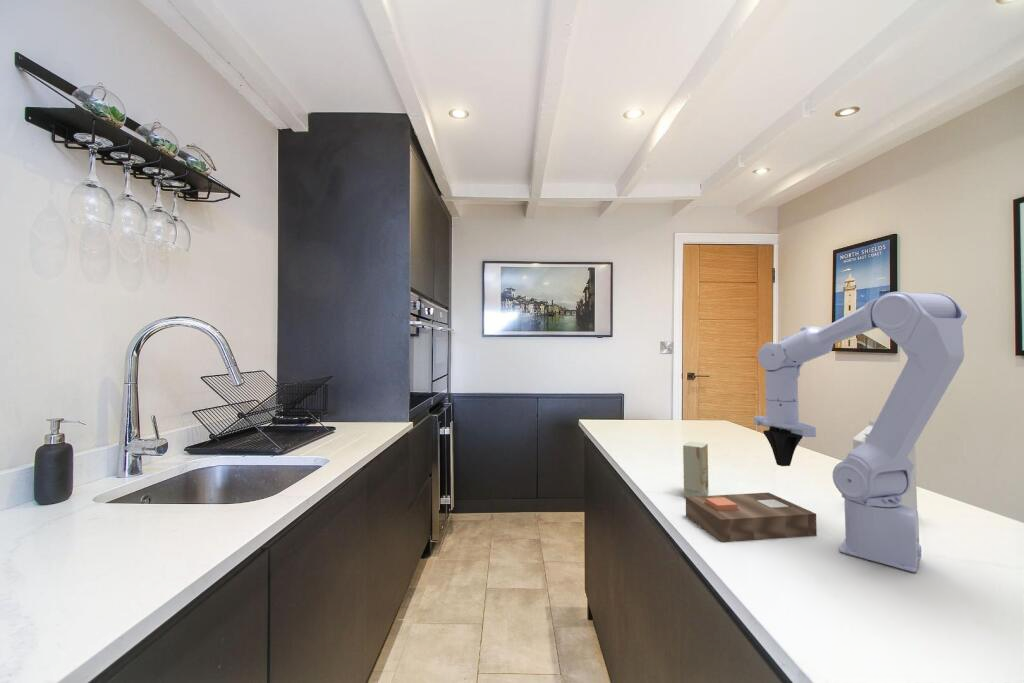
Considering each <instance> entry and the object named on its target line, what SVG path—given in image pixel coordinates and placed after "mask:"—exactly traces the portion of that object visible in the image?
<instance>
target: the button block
mask: <svg viewBox="0 0 1024 683" xmlns="http://www.w3.org/2000/svg"><path fill="white" fill-rule="evenodd" d="M720 497H725V498H726V499H728V500H730V501H732V502H734V503H736V504H737V510H733V511H716V510H714V509H713V508H711V507H709V506H708V505H706V498H720ZM771 499H774V500H777V501H779V502H781V503H783V504H785V505H787V506H789V507H784V508H769V507H767V506H765V505H763V504H761V503H759V502H757V501H756V500H771ZM685 517H686V518H688V519H689V520H691V522H693V523H695V524H696V525H697V526H699V527H700V528H702V529H703V530H705V532H707V533H708V534H710V535H711V536H713V537H714V538H715V539H717V540H718V541H720V542H721V543H728V542H729V543H730V542H742V541H757V540H758V541H759V540H772V539H785V538H786V539H787V538H788V539H789V538H800V537H801V538H803V537H814V536H817V534H818V532H817V527H818V526H817V513H815V512H813V511H811V510H809V509H808V508H807V509H806V508H804V507H802V506H800V505H797V504H795V503H793V502H791V501H788V500H786V499H784V498H782V497H779V496H777V495H775V494H773V493H771V492H756V493H754V492H753V493H735V494H733V493H732V494H719V495H717V494H716V495H714V494H713V495H707V496H694V497H685Z"/></svg>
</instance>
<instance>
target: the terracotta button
mask: <svg viewBox="0 0 1024 683" xmlns="http://www.w3.org/2000/svg"><path fill="white" fill-rule="evenodd" d="M706 505H708V506H709V507H711V508H713V509H714V510H716V511H733V510H737V504H736V503H734V502H732V501H730V500H728V499H726V498H725V497H720V498H706Z"/></svg>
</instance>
